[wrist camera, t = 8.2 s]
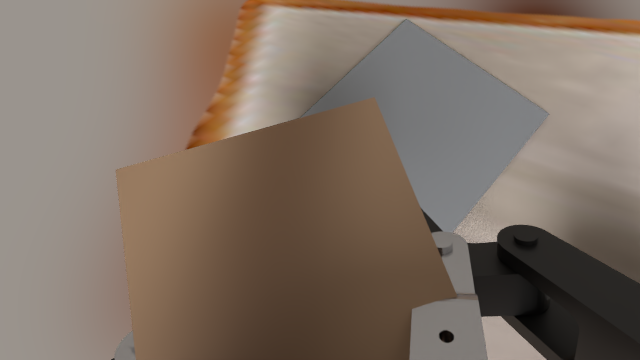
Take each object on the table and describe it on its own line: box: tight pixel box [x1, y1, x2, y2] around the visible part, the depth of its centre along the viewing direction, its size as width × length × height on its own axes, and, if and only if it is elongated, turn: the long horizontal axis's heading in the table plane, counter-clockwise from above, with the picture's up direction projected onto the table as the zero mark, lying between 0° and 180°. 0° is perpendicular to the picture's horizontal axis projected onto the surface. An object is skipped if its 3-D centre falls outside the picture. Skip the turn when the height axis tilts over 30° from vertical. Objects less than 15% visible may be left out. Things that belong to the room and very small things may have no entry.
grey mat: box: [300, 19, 549, 233], centre depth 30 cm, size 16×16×1 cm
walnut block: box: [116, 97, 457, 360], centre depth 12 cm, size 6×6×10 cm
